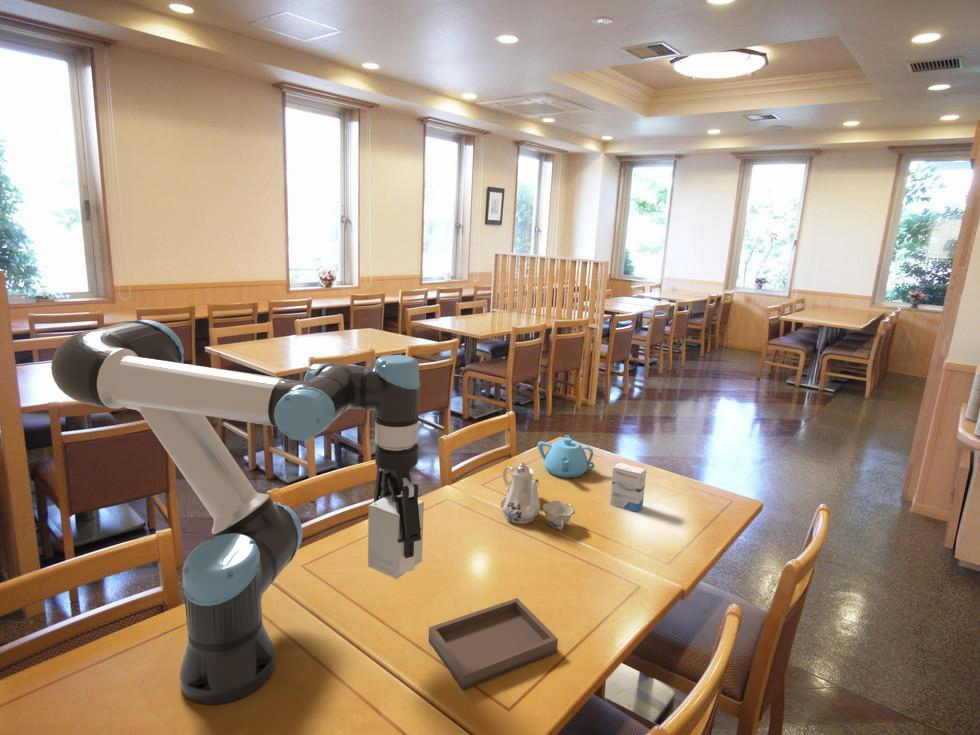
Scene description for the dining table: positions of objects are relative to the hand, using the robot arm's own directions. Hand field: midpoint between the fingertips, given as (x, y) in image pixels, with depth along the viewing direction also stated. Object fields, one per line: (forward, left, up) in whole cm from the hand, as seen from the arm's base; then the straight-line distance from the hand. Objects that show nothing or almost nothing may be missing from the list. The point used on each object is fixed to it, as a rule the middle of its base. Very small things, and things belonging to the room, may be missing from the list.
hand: (395, 556), depth 109 cm
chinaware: (+51, +30, -18) cm, 62 cm away
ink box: (+80, +22, -17) cm, 85 cm away
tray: (+15, -11, -17) cm, 25 cm away
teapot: (+79, +50, -17) cm, 95 cm away
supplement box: (0, 0, -2) cm, 2 cm away
